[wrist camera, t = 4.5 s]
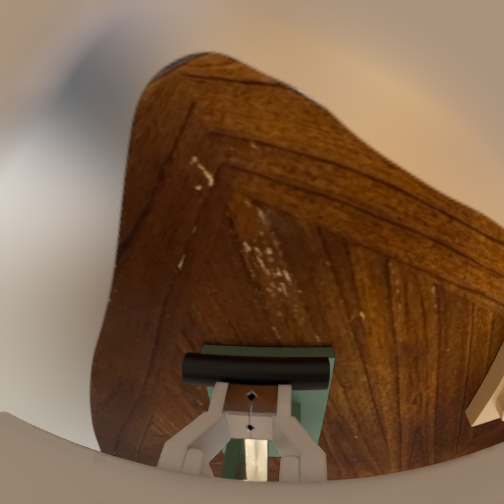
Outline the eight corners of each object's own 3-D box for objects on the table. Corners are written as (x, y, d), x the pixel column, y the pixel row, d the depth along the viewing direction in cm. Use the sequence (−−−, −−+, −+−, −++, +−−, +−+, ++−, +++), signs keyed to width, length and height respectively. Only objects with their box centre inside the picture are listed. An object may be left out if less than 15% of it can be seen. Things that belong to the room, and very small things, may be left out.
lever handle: (192, 342, 14) (175, 367, 11) (326, 345, 13) (333, 373, 11) (217, 508, 16) (210, 532, 13) (302, 512, 15) (302, 538, 13)
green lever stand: (203, 343, 21) (152, 495, 10) (333, 346, 20) (352, 509, 9) (224, 444, 26) (203, 545, 16) (314, 446, 26) (314, 551, 15)
